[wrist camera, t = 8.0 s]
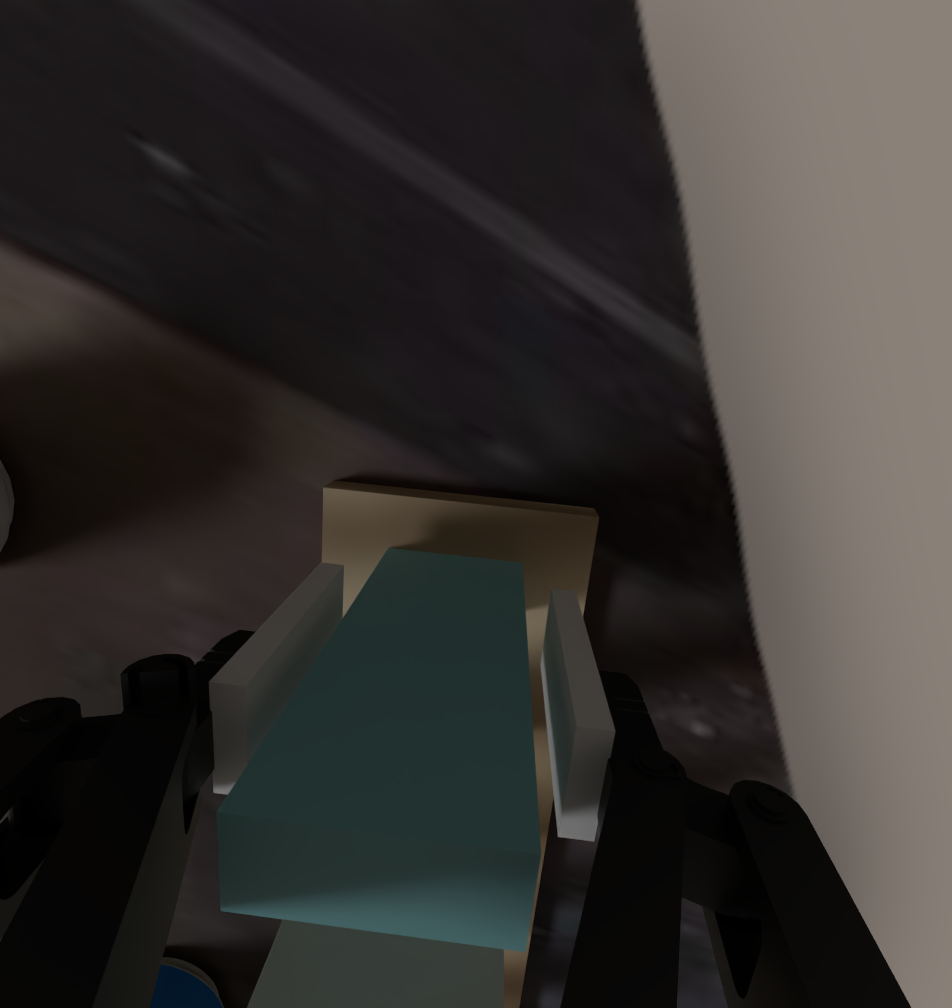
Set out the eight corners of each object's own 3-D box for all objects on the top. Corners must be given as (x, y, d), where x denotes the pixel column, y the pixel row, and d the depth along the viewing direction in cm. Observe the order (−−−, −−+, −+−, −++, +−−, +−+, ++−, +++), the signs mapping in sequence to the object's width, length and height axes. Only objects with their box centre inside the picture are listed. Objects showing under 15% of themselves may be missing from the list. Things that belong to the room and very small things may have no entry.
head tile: (388, 547, 20) (216, 811, 8) (522, 562, 20) (541, 854, 8) (385, 596, 20) (220, 911, 9) (516, 611, 20) (525, 952, 8)
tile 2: (381, 676, 21) (227, 1055, 10) (506, 691, 21) (502, 1096, 9) (379, 719, 22) (230, 1127, 10) (500, 733, 22) (491, 1166, 10)
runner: (333, 480, 20) (323, 487, 19) (594, 508, 20) (599, 517, 19) (321, 999, 28) (313, 1027, 27) (511, 1026, 27) (511, 1055, 26)
